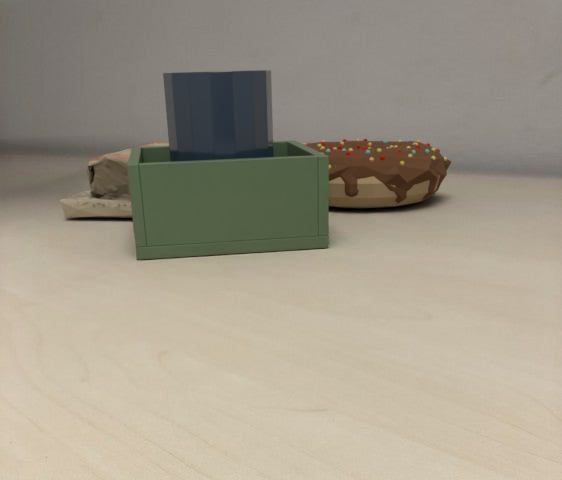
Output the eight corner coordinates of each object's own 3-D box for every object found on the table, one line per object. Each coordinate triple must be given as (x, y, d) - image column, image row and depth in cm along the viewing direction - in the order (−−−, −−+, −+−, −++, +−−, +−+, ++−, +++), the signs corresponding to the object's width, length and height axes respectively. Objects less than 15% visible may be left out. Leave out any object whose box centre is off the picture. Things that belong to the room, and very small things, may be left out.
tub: (136, 259, 44) (126, 164, 42) (139, 224, 55) (131, 147, 52) (328, 247, 46) (328, 155, 44) (296, 216, 56) (295, 140, 54)
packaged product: (133, 138, 71) (229, 137, 70) (138, 187, 73) (231, 187, 72) (52, 158, 55) (174, 158, 53) (61, 220, 57) (179, 221, 55)
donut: (283, 216, 56) (282, 151, 54) (291, 189, 69) (290, 136, 67) (463, 214, 56) (468, 147, 54) (438, 187, 68) (442, 133, 66)
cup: (176, 237, 46) (163, 72, 42) (175, 217, 53) (163, 73, 49) (281, 231, 47) (277, 69, 43) (267, 213, 54) (263, 70, 50)
